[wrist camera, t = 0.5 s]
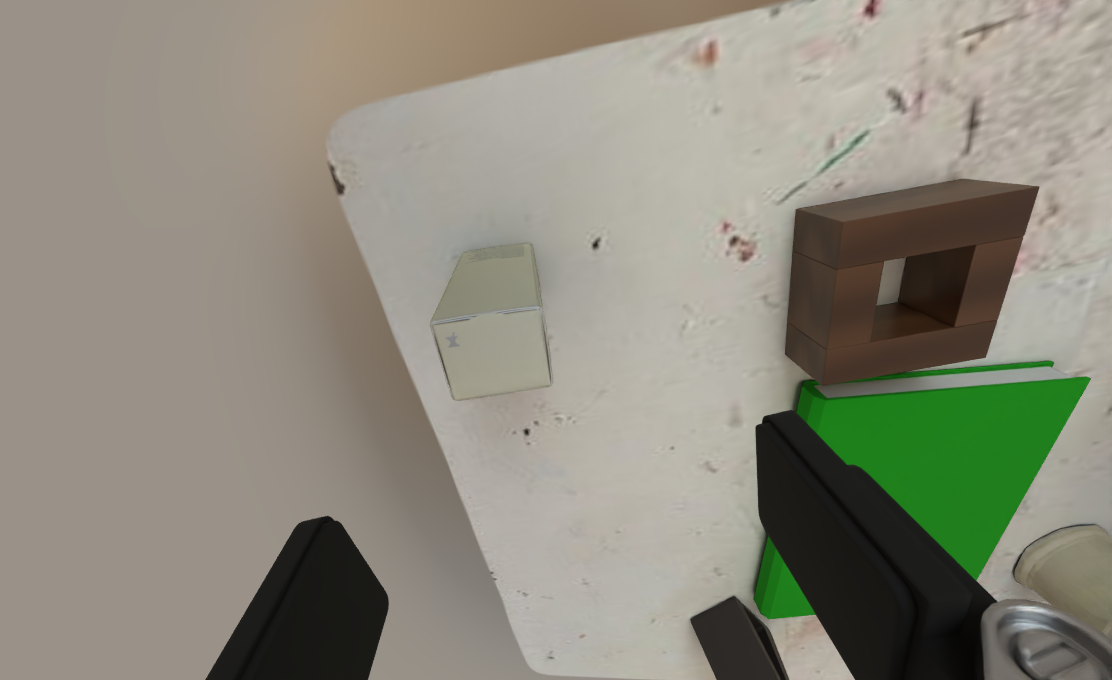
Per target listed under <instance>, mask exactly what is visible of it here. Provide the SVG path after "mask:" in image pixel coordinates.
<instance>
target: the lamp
mask: <svg viewBox="0 0 1112 680" xmlns="http://www.w3.org/2000/svg"><path fill="white" fill-rule="evenodd" d="M1014 575H1015V579H1016V581H1017V582H1019V583H1021V584H1022V585H1024V586H1025V587H1027V588H1030V589H1032V590H1035V591H1036V592H1037V593H1038V594H1039V595H1041V596H1042V597H1043V598H1044V599H1045V600H1046V601H1047V602H1049V603H1050V604H1051V605H1052V606H1053V607H1055V608H1058V609H1060V610H1063V611H1065V612H1067V613H1070V614H1072V615H1075V616H1076V617H1078V618H1080V619H1081V620H1083V621H1085V622H1087V623H1088V624H1090V625H1092V626H1093V627H1095V628H1097V629H1099V630H1100V631H1101V632H1102V633H1104V634H1105V635H1106V636H1108V637H1109V638H1110V639H1111V640H1112V538H1111V536H1110V535H1109V534H1108V532H1107V531H1106V530H1104V529H1103V528H1101V527H1099V526H1098V525H1089V526H1076V527H1070V528H1064V529H1059V530H1057V531H1055V532H1053V533H1051V534H1049V535H1047V536H1045V537H1043V538H1041V539H1039V540H1037V541H1036V542H1034V543H1033V544H1032V545H1030V546H1029V547H1028V548H1026V549H1025V551H1024V553H1023V554H1022V556H1021V558H1020V560H1019V562H1018V564H1017V567H1016V569H1015V573H1014Z"/></svg>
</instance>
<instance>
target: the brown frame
mask: <svg viewBox="0 0 1112 680" xmlns="http://www.w3.org/2000/svg"><path fill="white" fill-rule="evenodd" d="M1038 190H1039V186H1029V185H1019V184H1009V183H1000V182H990V181H980V180H970V179H960V180H954V181H948V182H943V183H937V184H932V185H926V186H921V187H915V188H910V189H904V190H899V191H893V192H888V193H882V194H877V195H871V196H866V197H860V198H855V199H849V200H844V201H838V202H833V203H827V204H822V205H816V206H811V207H805V208H800V209H796V220H795V233H794V245H793V250H794V251H793V260H792V272H791V285H790V298H789V311H788V324H787V337H786V350H785V355H786V356H788V357H789V358H790V359H791V360H792V361H794V362H795V363H796V364H797V365H798V366H799V367H801V368H802V369H803V370H804V371H805V372H806V373H808V374H809V375H810V376H811V377H812V378H814V379H815V380H816V381H817V382H818V383H819V384H821V385H822V386H826V385H832V384H837V383H843V382H849V381H855V380H860V379H866V378H872V377H877V376H883V375H889V374H895V373H900V372H906V371H912V370H918V369H923V368H929V367H935V366H941V365H946V364H952V363H958V362H963V361H969V360H975V359H981V358H985V357H986V355H987V352H988V349H989V345H990V342H991V339H992V336H993V333H994V330H995V326H996V323H997V319H998V317H999V314H1000V310H1001V307H1002V304H1003V301H1004V298H1005V294H1006V291H1007V288H1008V285H1009V282H1010V279H1011V275H1012V272H1013V269H1014V266H1015V263H1016V259H1017V256H1018V253H1019V250H1020V247H1021V243H1022V240H1023V236H1024V235H1025V232H1026V228H1027V225H1028V222H1029V219H1030V216H1031V212H1032V209H1033V206H1034V203H1035V200H1036V197H1037V193H1038ZM904 257H907V261H906V266H905V271H904V276H903V281H902V286H901V291H900V296H899V302H898V303H893V304H887V305H881V306H876V304H877V298H878V292H879V286H880V281H881V275H882V269H883V263H884V262H883V261H887V260H892V259H898V258H904Z"/></svg>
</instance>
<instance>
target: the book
mask: <svg viewBox="0 0 1112 680" xmlns="http://www.w3.org/2000/svg"><path fill="white" fill-rule="evenodd" d="M1053 364H1054V362H1052V361H1043V362H1031V363H1018V364H1006V365H994V366H981V367H969V368H957V369H945V370H932V371H920V372H908V373H895V374H889V375H883V376H877V377H872V378H866V379H860V380H855V381H849V382H843V383H837V384H832V385H826V386H822V385H821V384H819V383H818V382H817V381H816V380H809V381H804V382H803V385H802V389H801V394H800V398H799V403H798V407H797V411H796V413H797V414H798V415H799V416H800V417H801V418H802V419H803V420H804V421H805V422H806V423H807V424H808V425H809V426H810V427H811V428H812V429H813V430H814V431H815V432H816V433H817V434H818V435H819V436H820V437H821V438H822V439H823V440H824V441H825V442H826V444H827V445H828V446H829V447H830V448H831V449H832V450H833V451H834V452H835V453H836V454H837V455H838V456H839V457H840V458H841V459H842V460H843V461H844V462H845V463H846V464H847V465H856V466H859V467H861V468H862V469H863V470H864V471H866V472H867V473H868V474H869V475H870V476H871V477H872V478H873V479H874V480H875V481H876V482H877V483H878V484H879V485H880V486H881V487H882V488H883V489H884V490H885V491H886V492H887V493H888V494H889V495H890V496H891V497H892V498H893V499H894V500H895V501H896V502H897V503H898V504H899V505H900V506H901V507H902V508H903V509H904V510H905V511H906V512H907V513H908V514H909V515H910V516H911V517H912V518H913V519H914V520H915V521H916V522H917V523H918V524H919V525H920V526H921V527H922V528H923V529H925V530H926V531H927V532H928V533H929V534H930V535H931V536H932V537H933V538H934V539H935V540H936V541H937V542H938V543H939V544H940V545H941V546H942V547H943V548H944V549H945V550H946V551H947V552H948V553H949V554H950V555H951V556H952V557H953V558H954V559H955V560H956V561H957V562H958V563H959V564H960V565H961V566H962V567H963V568H964V569H965V570H966V571H967V572H968V573H969V574H970V575H971V576H972V577H973V578H974V579H975V580H977V579H978V577H979V575H980V573H981V572H982V570H983V568H984V566H985V565H986V563H987V561H988V559H989V557H990V556H991V554H992V552H993V550H994V549H995V547H996V545H997V543H998V542H999V540H1000V538H1001V536H1002V535H1003V533H1004V531H1005V529H1006V528H1007V526H1008V524H1009V522H1010V521H1011V519H1012V517H1013V515H1014V513H1015V512H1016V510H1017V508H1018V506H1019V505H1020V503H1021V501H1022V499H1023V498H1024V496H1025V494H1026V492H1027V491H1028V489H1029V487H1030V485H1031V484H1032V482H1033V480H1034V478H1035V477H1036V475H1037V473H1038V471H1039V469H1040V468H1041V466H1042V464H1043V462H1044V461H1045V459H1046V457H1047V455H1048V454H1049V452H1050V450H1051V448H1052V447H1053V445H1054V443H1055V441H1056V440H1057V438H1058V436H1059V434H1060V433H1061V431H1062V429H1063V427H1064V425H1065V424H1066V422H1067V420H1068V418H1069V417H1070V415H1071V413H1072V411H1073V410H1074V408H1075V406H1076V404H1077V403H1078V401H1079V399H1080V397H1081V396H1082V394H1083V392H1084V390H1085V389H1086V387H1087V385H1088V383H1089V381H1090V380H1091V378H1089V377H1075V378H1074V377H1072V376H1070V375H1068V374H1065V373H1063V372H1061V371H1059V370H1056V369H1054V368H1052V366H1053ZM754 601H755V603H756V605H757V607H758V609H759V611H760V613H761V614H762V615H764V616H765V617H766V618H768V619H776V618H786V617H797V616H807V615H816V614H815V612H814V611H813V609H812V607H811V606H810V604H809V602H808V601H807V599H806V597H805V596H804V594H803V592H802V591H801V589H800V587H799V586H798V584H797V582H796V581H795V579H794V577H793V576H792V574H791V572H790V571H789V569H788V567H787V566H786V564H785V563H784V561H783V559H782V558H781V556H780V554H779V553H778V551H777V549H776V548H775V546H774V544H773V543H772V541H771V539H770V538H769V536H768V538H767V543H766V547H765V551H764V556H763V560H762V565H761V569H760V573H759V578H758V582H757V586H756V591H755V595H754Z"/></svg>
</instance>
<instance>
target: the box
mask: <svg viewBox="0 0 1112 680" xmlns="http://www.w3.org/2000/svg"><path fill="white" fill-rule="evenodd" d="M430 326H431V331H432V334H433V337H434V341H435V345H436V348H437V352H438V355H439V358H440V362H441V365H442V368H443V372H444V375H445V378H446V381H447V384H448V387H449V390H450V393H451V396H452V398H453V399H454V400H456V401H460V400H467V399H475V398H482V397H490V396H496V395H503V394H510V393H516V392H522V391H529V390H534V389H539V388H544V387H549V386H552V384H553V376H552V367H551V358H550V350H549V342H548V335H547V328H546V322H545V316H544V310H543V305H542V299H541V291H540V284H539V278H538V272H537V266H536V261H535V256H534V251H533V246H532V244H530V243H524V244H515V245H507V246H499V247H492V248H486V249H480V250H474V251H468V252H464V253H462V255H461V257H460V259H459V261H458V264H457V266H456V268H455V270H454V272H453V274H452V277H451V279H450V281H449V283H448V285H447V287H446V290H445V292H444V294H443V296H442V298H441V300H440V303H439V305H438V307H437V309H436V311H435V313H434V315H433V317H432V319H431V321H430Z"/></svg>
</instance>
